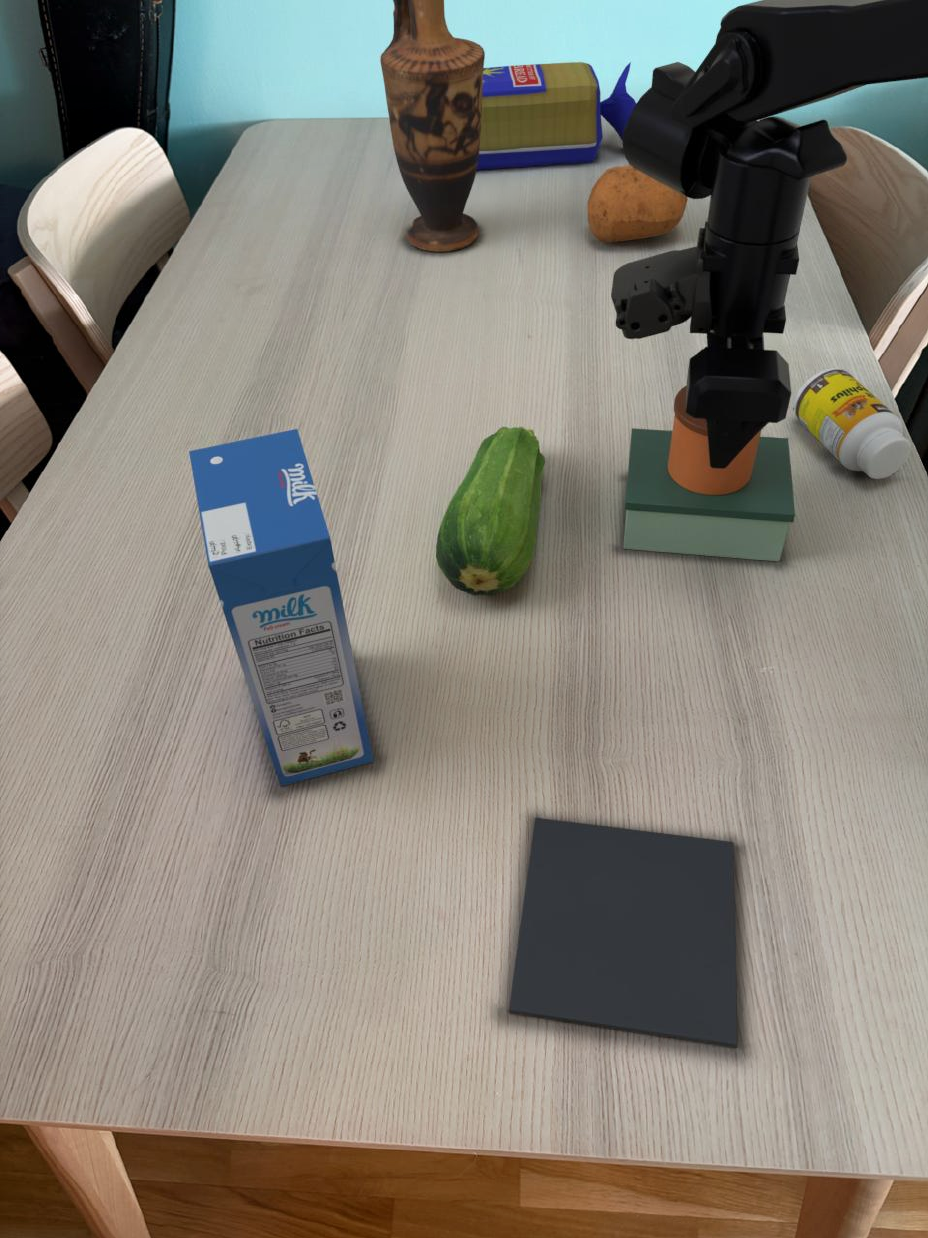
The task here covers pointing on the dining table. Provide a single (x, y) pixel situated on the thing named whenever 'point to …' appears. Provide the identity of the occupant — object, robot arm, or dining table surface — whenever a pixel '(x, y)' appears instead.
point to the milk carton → (282, 602)
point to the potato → (632, 206)
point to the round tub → (704, 456)
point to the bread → (546, 114)
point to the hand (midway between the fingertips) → (717, 428)
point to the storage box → (707, 504)
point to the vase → (434, 120)
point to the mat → (629, 932)
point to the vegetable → (493, 515)
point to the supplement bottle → (852, 423)
